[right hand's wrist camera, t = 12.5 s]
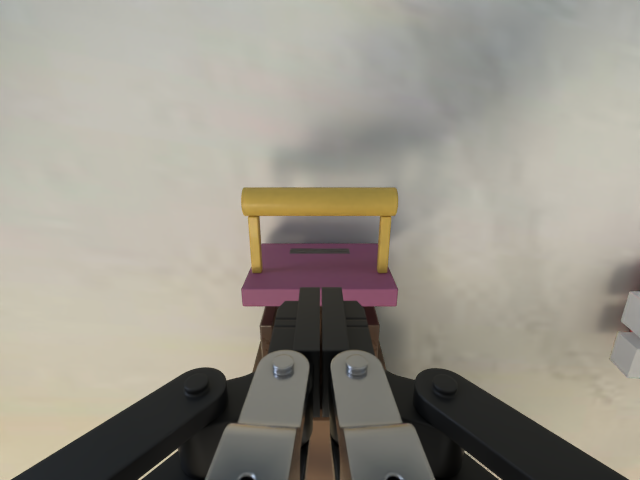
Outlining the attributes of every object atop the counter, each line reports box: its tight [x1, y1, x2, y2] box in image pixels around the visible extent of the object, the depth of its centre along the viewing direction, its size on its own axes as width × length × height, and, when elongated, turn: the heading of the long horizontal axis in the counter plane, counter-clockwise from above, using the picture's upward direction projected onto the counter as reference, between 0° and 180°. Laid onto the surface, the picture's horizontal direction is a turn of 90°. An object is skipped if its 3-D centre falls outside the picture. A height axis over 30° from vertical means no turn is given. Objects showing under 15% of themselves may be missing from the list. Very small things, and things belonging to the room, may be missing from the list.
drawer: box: [241, 188, 398, 409], centre depth 25 cm, size 21×9×8 cm, turn 0°
